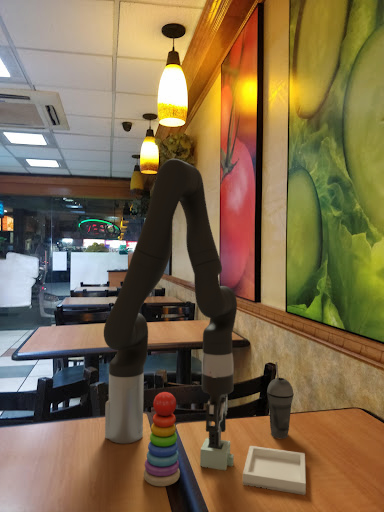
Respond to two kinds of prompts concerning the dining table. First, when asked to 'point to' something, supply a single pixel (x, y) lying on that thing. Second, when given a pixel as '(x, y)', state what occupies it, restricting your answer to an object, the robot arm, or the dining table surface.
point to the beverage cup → (279, 406)
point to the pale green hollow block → (216, 455)
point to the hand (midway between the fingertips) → (217, 438)
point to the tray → (275, 470)
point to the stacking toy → (162, 443)
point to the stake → (219, 439)
